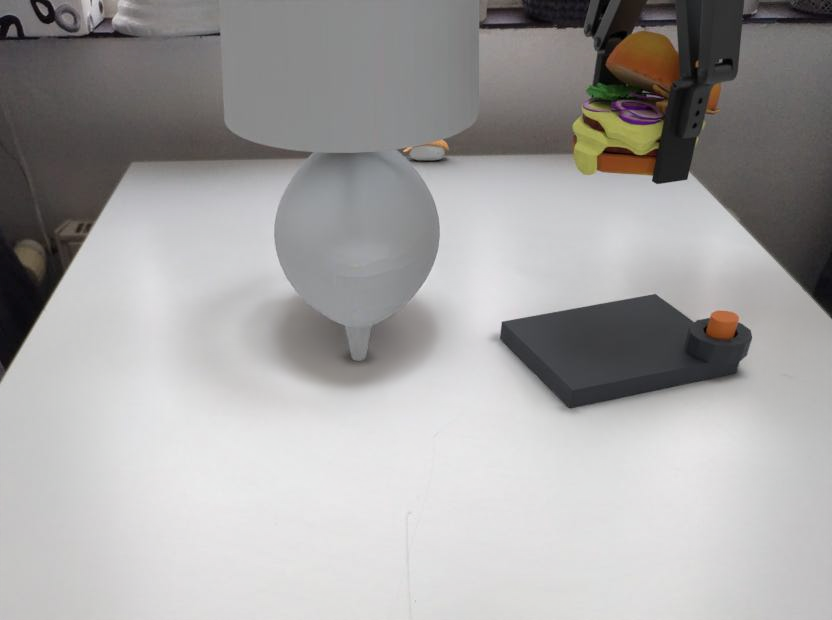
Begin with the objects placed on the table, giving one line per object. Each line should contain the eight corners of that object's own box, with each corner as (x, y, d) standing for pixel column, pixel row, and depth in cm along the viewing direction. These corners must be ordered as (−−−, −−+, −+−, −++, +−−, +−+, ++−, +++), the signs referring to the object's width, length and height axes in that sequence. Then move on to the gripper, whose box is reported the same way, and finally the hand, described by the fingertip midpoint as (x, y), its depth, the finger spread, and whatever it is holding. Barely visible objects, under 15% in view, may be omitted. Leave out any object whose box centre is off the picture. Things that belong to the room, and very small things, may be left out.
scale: (661, 308, 91) (669, 274, 88) (752, 375, 81) (764, 338, 78) (499, 338, 87) (503, 303, 84) (574, 412, 77) (581, 375, 74)
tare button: (723, 326, 81) (728, 308, 80) (739, 338, 79) (745, 319, 78) (700, 331, 80) (705, 312, 79) (716, 342, 79) (721, 324, 77)
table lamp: (475, 383, 81) (527, -234, 52) (238, 389, 81) (161, -223, 53) (453, 278, 97) (483, -237, 69) (255, 283, 97) (204, -229, 69)
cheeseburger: (535, 156, 74) (575, 13, 68) (627, 168, 79) (672, 36, 73) (613, 190, 68) (666, 35, 62) (708, 202, 73) (765, 59, 67)
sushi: (448, 162, 124) (449, 138, 122) (402, 162, 125) (403, 138, 123) (448, 156, 126) (449, 132, 124) (402, 156, 127) (403, 133, 124)
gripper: (567, -217, 64) (529, 127, 80) (764, -211, 49) (670, 212, 65) (658, -220, 66) (604, 118, 81) (876, -216, 51) (758, 199, 66)
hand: (633, 160), depth 73 cm, fingers closed on cheeseburger, 10 cm apart
